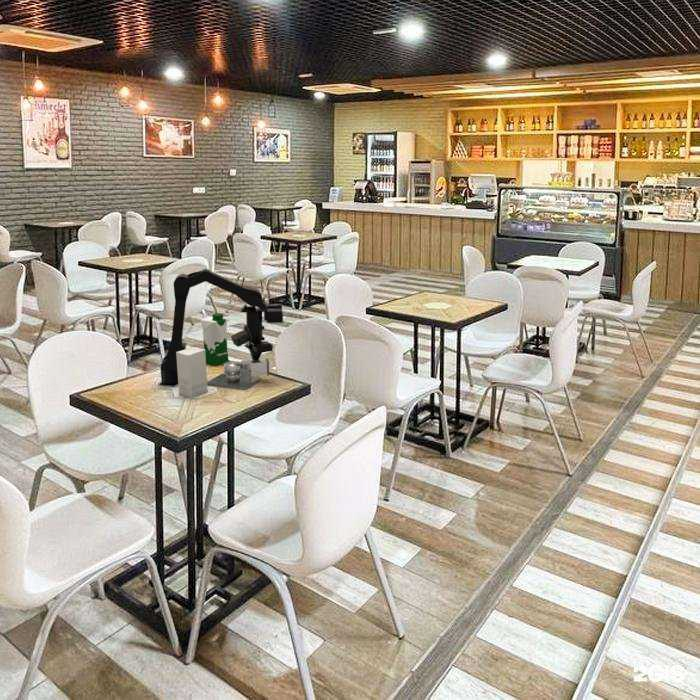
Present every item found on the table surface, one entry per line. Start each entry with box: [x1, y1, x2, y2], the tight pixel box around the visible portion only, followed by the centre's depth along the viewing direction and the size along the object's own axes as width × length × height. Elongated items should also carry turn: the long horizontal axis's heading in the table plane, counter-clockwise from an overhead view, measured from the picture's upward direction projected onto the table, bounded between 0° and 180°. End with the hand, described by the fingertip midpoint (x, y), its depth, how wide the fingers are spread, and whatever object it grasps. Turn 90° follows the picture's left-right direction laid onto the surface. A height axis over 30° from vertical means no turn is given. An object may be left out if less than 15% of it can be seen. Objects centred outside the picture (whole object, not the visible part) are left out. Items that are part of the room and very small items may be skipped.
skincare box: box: [176, 346, 208, 399], centre depth 250 cm, size 8×7×16 cm
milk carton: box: [200, 312, 230, 367], centre depth 286 cm, size 9×9×20 cm
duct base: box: [207, 369, 261, 391], centre depth 263 cm, size 16×12×6 cm
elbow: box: [223, 358, 270, 377], centre depth 263 cm, size 16×6×5 cm, turn 102°
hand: (255, 364), depth 267 cm, fingers closed
